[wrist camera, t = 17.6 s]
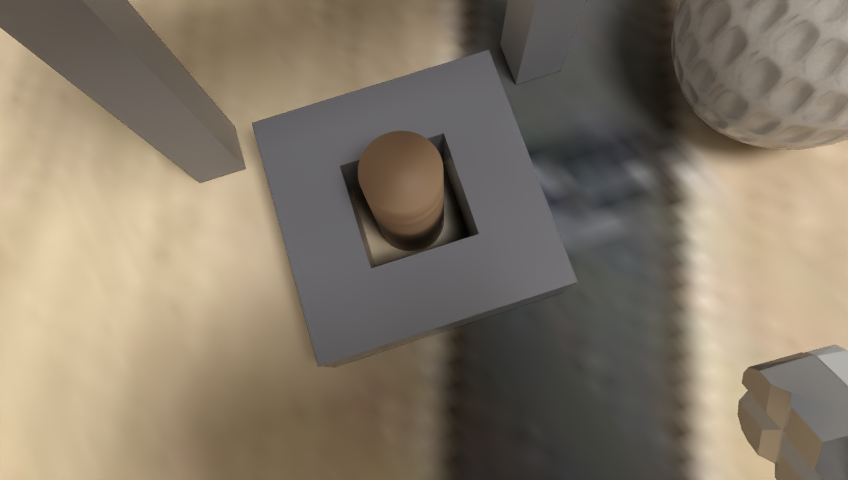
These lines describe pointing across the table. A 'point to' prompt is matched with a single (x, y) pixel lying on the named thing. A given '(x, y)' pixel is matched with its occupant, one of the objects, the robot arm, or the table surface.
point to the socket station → (347, 166)
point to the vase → (765, 69)
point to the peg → (404, 188)
